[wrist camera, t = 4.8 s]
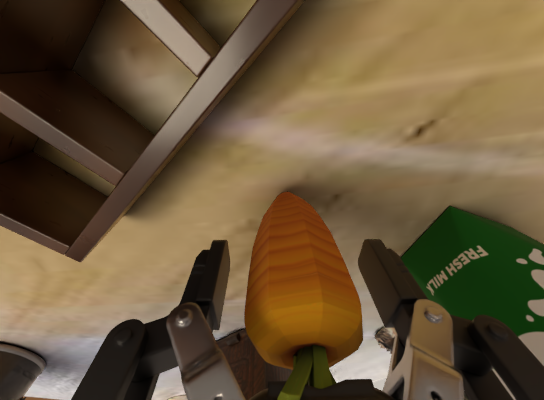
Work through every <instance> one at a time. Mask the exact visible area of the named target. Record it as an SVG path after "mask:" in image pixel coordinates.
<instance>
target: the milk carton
mask: <svg viewBox="0 0 544 400" xmlns="http://www.w3.org/2000/svg"><path fill="white" fill-rule="evenodd" d="M401 260H402V261H403V263H404V265H405V266H406V267H407V268H408V270H409V273H411V274H412V276H413V277H414V279H415V280H416V282H417V283H418V285H419V286H420V288H421V289H422V291H423V292H424V294H425V295H426V297H427V298H428V299H429V300H431V301H434V302H436V303H437V304H439V305H440V306H442V307H443V308H444V309H445V310H446V311H447V312H448V313H449V314H451V315H454V316H458V317H461V318H465V319H468V320H473V319H474V318H475V317H476V316H478V315H488V316H491V317H493V318H496V319H498V320H499V321H501V322H503V323H504V324H505V325H507V326H508V327H509V328H510V329H511V330H512V331H513V332H514V333H515V334H516V335H517V336H518V338H519V339H520V340H521V341H522V342H523V343H524V344H525V345H526V347H527V348H528V349H529V350H530V351H531V352H532V353H533V354H534V356H535V357H536V358H537V359H538V360H539V361H540V362H541V363H542V365H543V366H544V244H542V243H540V242H538V241H536V240H534V239H533V238H531V237H529V236H527V235H525V234H523V233H521V232H519V231H517V230H515V229H513V228H512V227H509V226H506V225H503V224H500V223H498V222H495V221H492V220H489V219H486V218H483V217H480V216H477V215H474V214H472V213H469V212H466V211H463V210H460V209H457V208H454V207H451V206H449V208H448V209H447V210H446V211H445V212H444V213H443V214H442V215H441V216H440V217H439V218H438V219H437V220H436V221H435V222H434V223H433V224H432V225H431V226H430V228H429V229H428V230H427V231H426V232H425V233H424V234H423V235H422V236H421V237H420V238H419V239H418V240H417V241H416V242H415V243H414V244H413V245H412V246H411V248H410V249H409V250H408V251H407V252H406V253H405V254H404V255H403V256H402V257H401ZM492 370H493V372H494V373H495V374H496V376H497V377H498V379H499V380H500V381H501V383H502V384H503V386H504V387H505V388H506V390H507V391H508V393H509V394H510V396H511V397H512V398H513V400H516V399H515V397H514V396H513V394H512V393H511V391H510V390H509V389H508V387H507V386H506V384H505V383H504V382H503V380H502V379H501V378H500V376H499V375H498V373H497V372H496V371H495V369H492Z"/></svg>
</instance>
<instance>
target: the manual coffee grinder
mask: <svg viewBox="0 0 544 400" xmlns="http://www.w3.org/2000/svg"><path fill="white" fill-rule="evenodd" d="M217 344H218V346H219V348H220V349H221V350H222V352H223V354H224V356H225V358H226V360H227V362H228V364H229V366H230V368H231V370H232V372H233V374H234V377H235V379H236V381H237V383H238V385H239V387H240V389H241V391H242V393H243V395H244V397H245V400H249V399H250V398H251V397H253V396H254V395H255V394H257V393H259V392H261V391H263V390H265V389H268V381H287V380H288V378H289V376H290V374H291V373H292V371H293V370H292V369H288V368H283V367H279V366H275V365H272V364H270V363H267V362H266V361H265V360H264V359H263V358H262V357H261V356H260V354H259V353H258V351H257V349H256V348H255V346H254V345H253V343H252V341H251V340H250V338H249V336H248V335H247V332H246V329H243V330H240V331H238V332H235V333H233V334H230V335H228V336H227V337H225V338H223V339H221V340H219V341H217ZM308 385H309V381H308Z"/></svg>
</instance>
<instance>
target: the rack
mask: <svg viewBox="0 0 544 400" xmlns="http://www.w3.org/2000/svg"><path fill="white" fill-rule="evenodd" d="M104 1H105V0H0V226H2V227H5V228H7V229H9V230H11V231H13V232H15V233H18V234H20V235H22V236H24V237H26V238H28V239H31V240H33V241H35V242H37V243H39V244H41V245H43V246H46V247H48V248H50V249H52V250H54V251H56V252H59V253H61V254H63V255H64V254H65V256H67V257H69V258H72V259H74V260H76V261H78V262H82V261H83V260H84V259H85V258H86V257H87V255H88V254H89V253H90V252H91V251H92V250H93V249H94V248H95V247H96V246H97V244H98V243H99V242H100V241H101V240H102V239H103V238H104V237H105V236H106V235H107V234H108V232H109V231H110V230H111V229H112V228H113V227H114V226H115V225H116V224H117V223H118V222H119V220H120V219H121V218H122V217H123V216H124V215H125V214H126V212H127V211H128V210H129V209H130V208H131V207H132V205H133V204H134V203H135V202H136V201H137V199H138V198H139V197H140V196H141V195H142V193H143V192H144V191H145V190H146V189H147V188H148V186H149V185H150V184H151V183H152V182H153V180H154V179H155V178H156V177H157V176H158V174H159V173H160V172H161V171H162V170H163V169H164V167H165V166H166V165H167V164H168V163H169V161H170V160H171V159H172V158H173V157H174V155H175V154H176V153H177V152H178V151H179V149H180V148H181V147H182V146H183V145H184V144H185V142H186V141H187V140H188V139H189V138H190V136H191V135H192V134H193V133H194V132H195V130H196V129H197V128H198V127H199V126H200V125H201V123H202V122H203V121H204V120H205V119H206V117H207V116H208V115H209V114H210V113H211V111H212V110H213V109H214V108H215V107H216V106H217V104H218V103H219V102H220V101H221V100H222V98H223V97H224V96H225V95H226V94H227V92H228V91H229V90H230V89H231V88H232V86H233V85H234V84H235V83H236V82H237V81H238V79H239V78H240V77H241V76H242V75H243V73H244V72H245V71H246V70H247V69H248V67H249V66H250V65H251V64H252V63H253V62H254V60H255V59H256V58H257V57H258V56H259V54H260V53H261V52H262V51H263V50H264V48H265V47H266V46H267V45H268V44H269V42H270V41H271V40H272V39H273V38H274V37H275V35H276V34H277V33H278V32H279V31H280V29H281V28H282V27H283V26H284V25H285V23H286V22H287V21H288V20H289V19H290V18H291V16H292V15H293V14H294V13H295V12H296V10H297V9H298V8H299V7H300V6H301V4H302V3H303V2H304V1H305V0H257V1H256V2H255V3H254V5H253V6H252V7H251V9H250V10H249V11H248V13H247V14H246V15H245V17H244V18H243V19H242V21H241V22H240V23H239V25H238V26H237V27H236V29H235V30H234V31H233V33H232V34H231V35H230V37H229V38H228V39H227V40H226V42H225V43H224V44H223V46H222V47H220V46H219V45H218V44H217V43H216V41H215V40H214V39H213V38H212V37H211V36H210V35H209V34H208V32H207V31H206V30H205V29H204V28H203V27H202V26H201V25H200V24H199V22H198V21H197V20H196V19H195V18H194V17H193V16H192V15H191V13H190V12H189V11H188V10H187V9H186V8H185V7H184V6H183V5H182V3H181V2H180V1H179V0H120V1H121V2H122V3H123V4H124V5H125V6H126V7H127V8H128V9H129V10H130V11H131V12H132V13H133V14H134V15H135V16H136V17H137V18H138V19H139V20H140V21H141V22H142V23H143V24H144V25H145V26H146V27H147V28H148V29H149V30H150V31H151V32H152V33H153V34H154V35H155V36H156V37H157V38H158V39H159V40H160V41H161V42H162V43H163V44H164V45H165V46H166V47H167V48H168V49H169V50H170V51H171V52H172V53H173V54H174V55H175V56H176V57H177V58H178V59H179V60H180V61H181V62H182V63H183V64H184V65H185V66H186V67H187V68H188V69H189V70H190V71H191V72H192V73H193V74H194V75H195V76H196V77H199V78H198V79H197V80H196V82H195V83H194V84H193V85H192V87H191V88H190V89H189V91H188V92H187V93H186V95H185V96H184V97H183V99H182V100H181V101H180V103H179V104H178V105H177V107H176V108H175V109H174V111H173V112H172V113H171V115H170V116H169V117H168V119H167V120H166V121H165V123H164V124H163V125H162V127H161V128H160V129H159V130H158V132H157V133H156V134H155V135H154V134H152V133H151V132H150V131H149V130H147V129H146V128H145V127H143V126H142V125H141V124H140V123H138V122H137V121H136V120H135V119H133V118H132V117H131V116H130V115H128V114H127V113H126V112H124V111H123V110H122V109H121V108H119V107H118V106H117V105H116V104H114V103H113V102H112V101H111V100H109V99H108V98H107V97H106V96H104V95H103V94H102V93H100V92H99V91H98V90H97V89H95V88H94V87H93V86H92V85H90V84H89V83H88V82H87V81H85V80H84V79H83V78H81V77H80V76H79V75H78V74H76V73H75V72H74V71H72V70H71V69H72V67H73V65H74V63H75V61H76V59H77V57H78V55H79V53H80V51H81V48H82V46H83V44H84V42H85V40H86V38H87V36H88V34H89V32H90V30H91V28H92V26H93V24H94V22H95V20H96V18H97V15H98V13H99V11H100V9H101V7H102V5H103V3H104ZM38 137H40V138H41V139H43V140H44V141H46V142H47V143H49V144H51V145H52V146H54V147H55V148H57V149H58V150H60V151H61V152H63V153H65V154H66V155H68V156H69V157H71V158H72V159H74V160H76V161H77V162H79V163H80V164H82V165H83V166H85V167H87V168H88V169H90V170H91V171H93V172H94V173H96V174H98V175H99V176H101V177H102V178H104V179H105V180H107V181H109V182H110V183H112V184H113V185H115V186H116V185H117V186H116V187H115V189H114V190H113V191H112V193H111V194H110V195H109V197H106V196H105V195H103V194H101V193H100V192H98V191H96V190H95V189H93V188H91V187H90V186H88V185H87V184H85V183H83V182H82V181H80V180H78V179H77V178H75V177H73V176H72V175H70V174H68V173H67V172H65V171H63V170H62V169H60V168H59V167H57V166H55V165H54V164H52V163H50V162H49V161H47V160H45V159H44V158H42V157H40V156H39V155H37V154H35V153H34V152H32V149H33V147H34V145H35V143H36V141H37V139H38Z"/></svg>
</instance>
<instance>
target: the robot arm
mask: <svg viewBox="0 0 544 400" xmlns="http://www.w3.org/2000/svg"><path fill="white" fill-rule="evenodd" d="M358 265H359V269H360V272H361V274H362V276H363V278H364V281H365V283H366V285H367V288H368V290H369V292H370V294H371V297H372V299H373V301H374V303H375V306H376V308H377V310H378V312H379V315H380V317H381V319H382V321H383V324H384V326H385V328H395V330H396V332H397V334H396V335H395V339H394V345H393V350H392V356H391V361H390V367H389V372H388V376H387V379H386V382H385V384H384V387H383V391H381V390H378V389H377V388H374V386H373V383H372V380H371V379H355V380H344V381H341V382H339V383H336V384H334V385H331V386H328V387H326V388H323V389H319V388H315V387H312V386H309V385H305V387H304V390H303V393H302V396H301V398H300V400H464V391H465V393H466V394H467V396H468V398H469V399H470V400H513V398H512V397H511V396H510V394H509V393H508V391H507V390H506V388H505V387H504V386H503V384H502V383H501V381H500V380H499V379H498V377H497V376H496V374H495V373H494V372H493V370H492V369H495V371H496V372H497V373H498V375H499V376H500V378H501V379H502V380H503V382H504V383H505V384H506V386H507V387H508V389H509V390H510V391H511V393H512V394H513V396H514V397H515V399H516V400H544V366H543V365H542V363H541V362H540V361H539V360H538V359H537V358H536V357H535V356H534V354H533V353H532V352H531V351H530V350H529V349H528V348H527V347H526V345H525V344H524V343H523V342H522V341H521V340H520V339H519V338H518V336H517V335H516V334H515V333H514V332H513V331H512V330H511V329H510V328H509V327H508V326H507V325H505V324H504V323H503V322H501V321H499V320H498V319H496V318H493V317H491V316H488V315H478V316H476V317H475V318H474V319H473V320H468V319H465V318H461V317H458V316H454V315H451V314H449V313H448V312H447V311H446V310H445V309H444V308H443V307H442V306H440V305H439V304H437V303H436V302H434V301H431V300H429V299H428V298H427V297H426V295H425V294H424V292H423V291H422V289H421V288H420V286H419V285H418V283H417V282H416V280H415V279H414V277H413V276H412V274H411V273H409V270H408V268H407V267H406V266H405V265H404V263H403V261H402V260H401V258H400V257H399V255H397V254H396V253H395V252H394V251H393V250H391V249H387V248H386V247H385V245H384V244H383V242H382V241H381V240H380V239H366V240H364V243H363V246H362V249H361V252H360V255H359V258H358ZM229 271H230V256H229V249H228V242H227V240H213V241H212V244H211V248H210V250H202V252H201V253H200V254H199V255H198V256H197V257H196V260H195V263H194V266H193V268H192V271H191V274H190V277H189V280H188V282H187V285H186V288H185V291H184V294H183V296H182V299H181V302H180V304H179V305H178V306H177V307H176V308H174V309H173V310H172V311H171V313H170V314H169V315H168V316H166V317H164V318H161V319H158V320H155V321H152V322H149V323H146V324H143V323H142V322H141V321H140V320H137V319H130V320H127V321H124V322H122V323H120V324H119V325H117V326H116V327H115V328H113V329H112V330H111V331H110V333H109V334H108V335H107V337H106V338H105V340H104V342H103V344H102V346H101V347H100V349H99V351H98V353H97V354H96V356H95V358H94V360H93V362H92V363H91V365H90V367H89V369H88V370H87V372H86V374H85V376H84V378H83V379H82V381H81V383H80V385H79V387H78V388H77V390H76V392H75V394H74V395H73V397H72V399H71V400H151V398H152V395H153V392H154V389H155V386H156V383H157V380H158V377H159V374H160V373H162V372H164V371H167V370H169V369H172V368H174V367H177V366H179V369H180V372H181V379H182V383H183V386H184V390H185V393H186V396H187V399H188V400H245V397H244V395H243V393H242V391H241V389H240V387H239V385H238V383H237V381H236V379H235V377H234V374H233V372H232V370H231V368H230V366H229V364H228V362H227V360H226V358H225V356H224V354H223V352H222V350H221V349H220V348H219V346H218V344H217V342H216V340H215V338H214V336H213V334H212V332H213V330H219V328H220V322H221V316H222V311H223V305H224V299H225V294H226V288H227V282H228V276H229ZM45 367H46V363H45V361H44V360H43V359H42V358H40V357H39V356H38V355H36V354H34V353H32V352H30V351H27V350H25V349H22V348H19V347H15V346H11V345H7V344H0V400H25V398H26V397H25V398H23V396H24V395H25V394H26V392H27V391H28V389H29V388H30V387H31V385H32V384H33V382H34V381H35V380H36V378H37V377H38V376H39V375H40V374H41V373H42V371H43V370H44V369H45ZM286 382H287V381H268V389H265V390H263V391H261V392H259V393H257V394H255V395H254V396H253V397H251V398H250V399H249V400H277V398H278V396H279V394H280V392H281V390H282V389H283V387H284V385H285V383H286ZM22 398H23V399H22Z"/></svg>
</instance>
